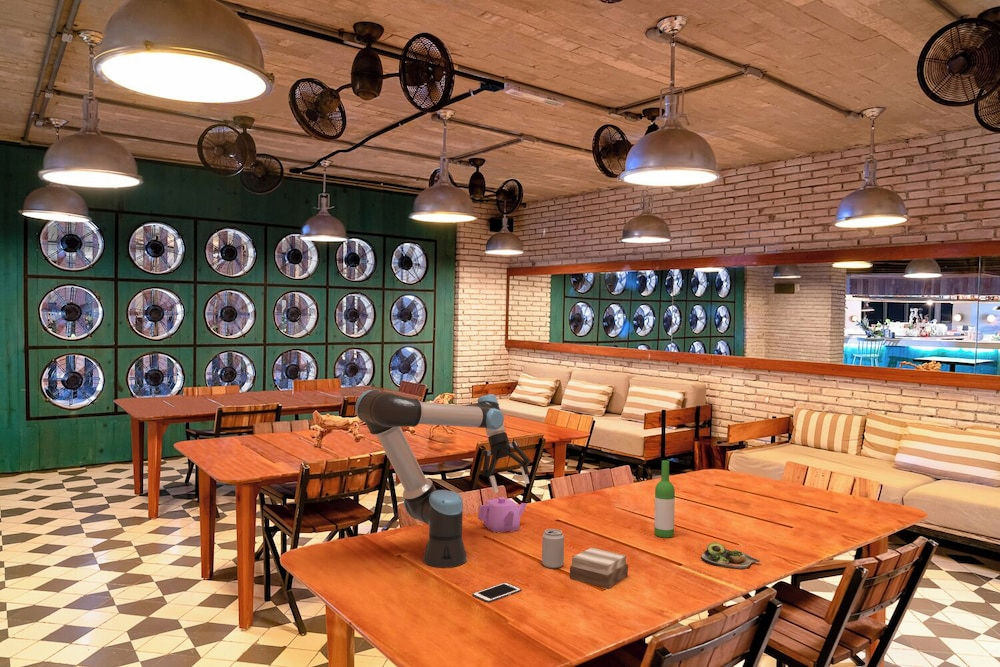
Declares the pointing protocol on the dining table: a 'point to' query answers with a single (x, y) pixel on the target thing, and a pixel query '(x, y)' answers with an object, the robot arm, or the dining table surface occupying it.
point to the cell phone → (496, 592)
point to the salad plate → (726, 557)
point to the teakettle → (501, 514)
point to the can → (553, 548)
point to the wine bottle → (664, 504)
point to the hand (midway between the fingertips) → (511, 488)
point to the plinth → (601, 578)
